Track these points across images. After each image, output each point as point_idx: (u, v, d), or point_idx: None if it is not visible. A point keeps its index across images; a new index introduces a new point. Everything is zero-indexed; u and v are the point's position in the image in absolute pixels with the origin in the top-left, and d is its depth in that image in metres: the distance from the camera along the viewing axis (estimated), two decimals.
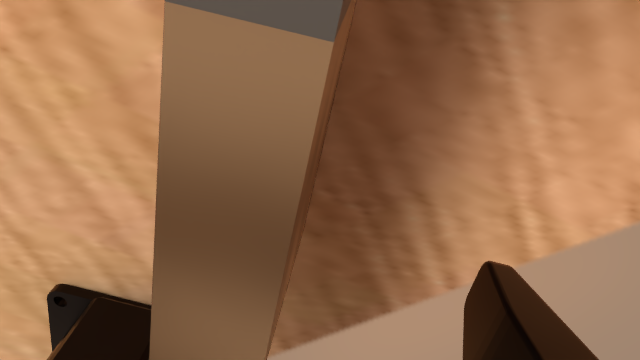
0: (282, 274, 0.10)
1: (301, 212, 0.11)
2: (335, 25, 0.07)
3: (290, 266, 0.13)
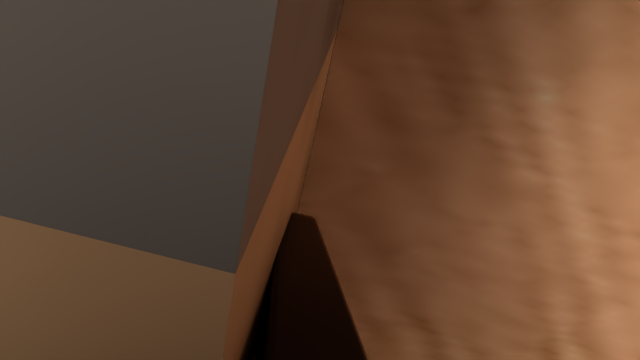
0: None
1: None
2: (235, 243, 0.03)
3: None
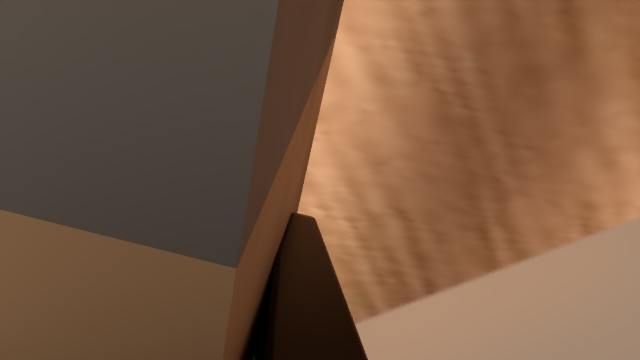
0: None
1: None
2: (236, 237, 0.03)
3: None
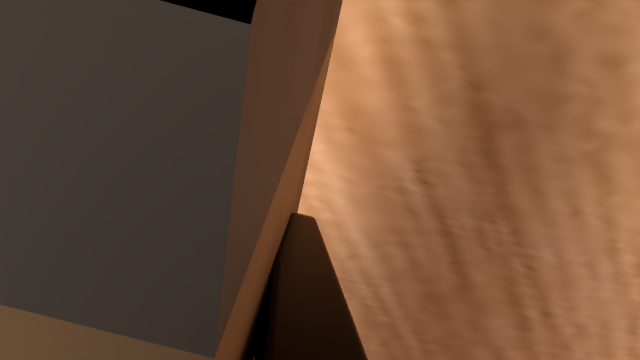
0: None
1: None
2: (212, 334, 0.03)
3: None
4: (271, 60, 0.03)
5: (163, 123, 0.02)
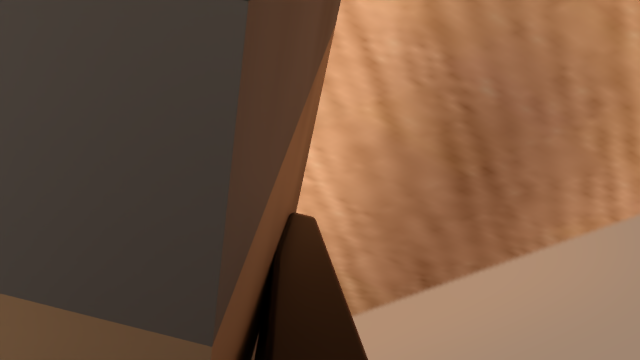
0: None
1: None
2: (209, 321, 0.03)
3: None
4: (269, 44, 0.03)
5: (161, 102, 0.02)
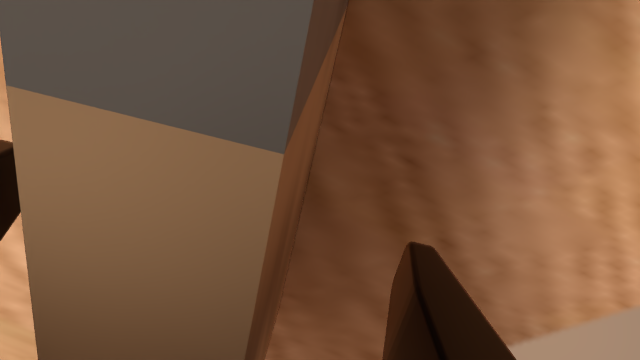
0: None
1: (261, 335, 0.08)
2: (285, 128, 0.04)
3: None
4: None
5: None
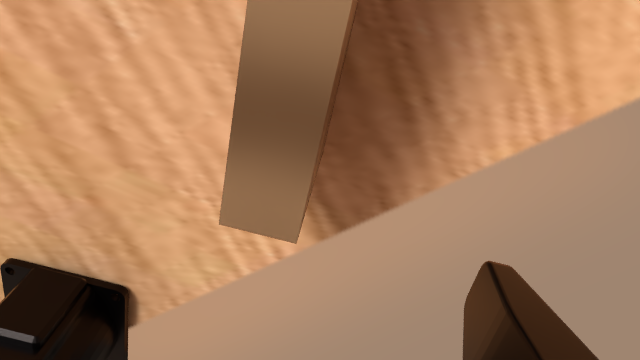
0: (318, 146, 0.15)
1: (328, 114, 0.16)
2: None
3: (317, 163, 0.18)
4: None
5: None
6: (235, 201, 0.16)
